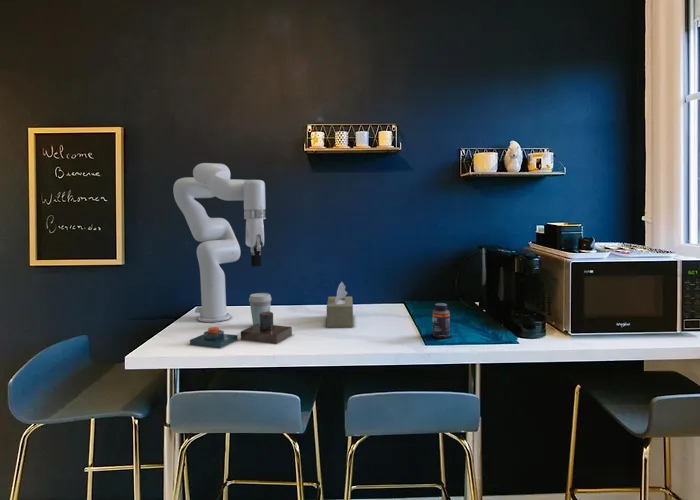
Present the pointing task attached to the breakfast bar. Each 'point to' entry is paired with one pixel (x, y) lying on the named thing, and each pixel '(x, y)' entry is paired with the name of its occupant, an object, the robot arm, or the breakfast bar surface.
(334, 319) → the tissue box
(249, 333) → the panel
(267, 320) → the knob
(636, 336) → the breakfast bar surface
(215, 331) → the button
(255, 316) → the coffee cup
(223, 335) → the button box
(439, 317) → the supplement bottle
